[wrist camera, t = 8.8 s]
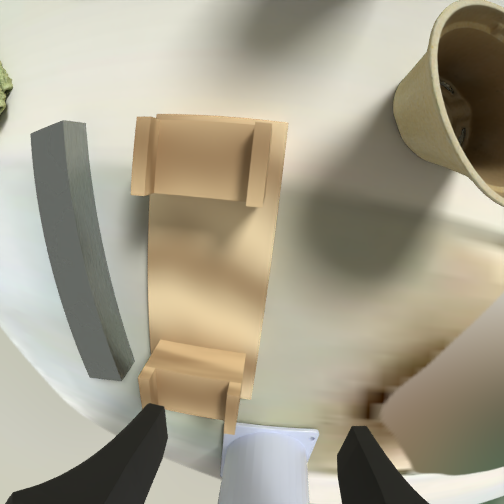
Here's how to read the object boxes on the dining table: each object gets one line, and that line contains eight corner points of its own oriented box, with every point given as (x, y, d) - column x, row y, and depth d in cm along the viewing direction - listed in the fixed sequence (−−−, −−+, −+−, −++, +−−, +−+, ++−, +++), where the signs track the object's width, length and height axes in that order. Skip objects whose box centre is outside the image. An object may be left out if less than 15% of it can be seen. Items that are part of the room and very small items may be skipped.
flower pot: (365, 182, 18) (432, 201, 9) (362, 37, 15) (414, -30, 7) (483, 195, 17) (571, 221, 9) (481, 68, 14) (560, 43, 6)
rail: (136, 358, 23) (121, 380, 20) (105, 356, 23) (89, 377, 20) (88, 123, 18) (63, 120, 15) (56, 134, 18) (30, 133, 15)
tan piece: (251, 392, 22) (246, 442, 17) (156, 376, 23) (133, 420, 18) (287, 124, 17) (293, 110, 12) (161, 115, 17) (123, 102, 12)
